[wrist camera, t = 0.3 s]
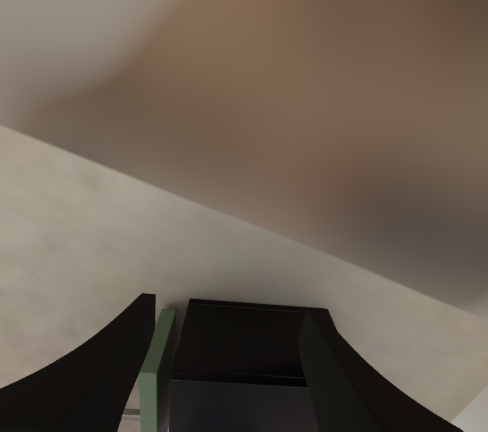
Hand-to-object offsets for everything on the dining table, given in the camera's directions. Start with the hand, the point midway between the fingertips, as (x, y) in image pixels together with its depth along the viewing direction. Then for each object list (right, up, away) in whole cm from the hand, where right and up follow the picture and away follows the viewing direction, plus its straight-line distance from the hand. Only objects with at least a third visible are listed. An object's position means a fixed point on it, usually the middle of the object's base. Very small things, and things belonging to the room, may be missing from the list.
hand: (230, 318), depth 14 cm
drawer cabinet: (+1, -9, +14) cm, 17 cm away
